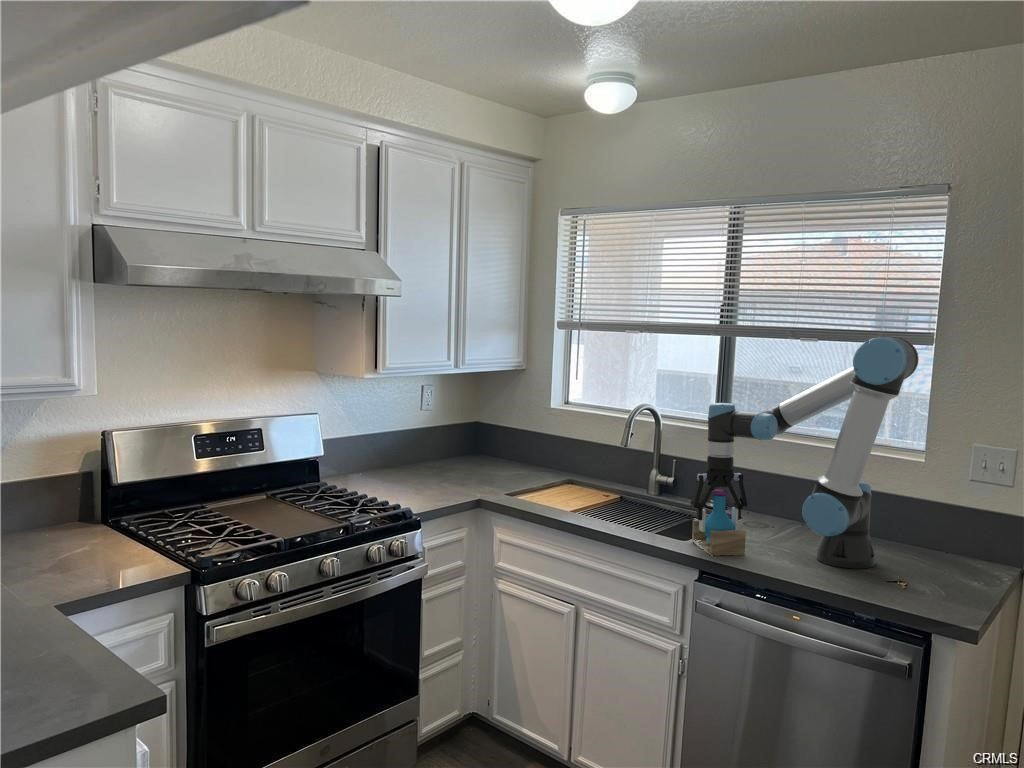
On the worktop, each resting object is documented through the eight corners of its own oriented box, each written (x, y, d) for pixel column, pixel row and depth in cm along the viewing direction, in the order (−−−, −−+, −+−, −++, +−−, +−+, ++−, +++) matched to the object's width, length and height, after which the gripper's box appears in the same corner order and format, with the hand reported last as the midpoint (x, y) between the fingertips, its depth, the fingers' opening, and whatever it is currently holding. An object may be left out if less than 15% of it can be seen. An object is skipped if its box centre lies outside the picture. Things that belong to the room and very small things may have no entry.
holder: (744, 555, 217) (745, 531, 217) (712, 556, 216) (712, 532, 216) (722, 541, 232) (723, 519, 232) (692, 542, 231) (692, 519, 230)
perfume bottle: (732, 537, 228) (734, 488, 227) (735, 545, 219) (737, 494, 218) (701, 535, 229) (703, 486, 228) (702, 543, 220) (704, 492, 219)
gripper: (749, 453, 228) (747, 526, 229) (679, 453, 225) (678, 528, 226) (761, 456, 220) (759, 532, 222) (689, 457, 217) (687, 534, 218)
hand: (718, 530), depth 224 cm, fingers open, 9 cm apart
